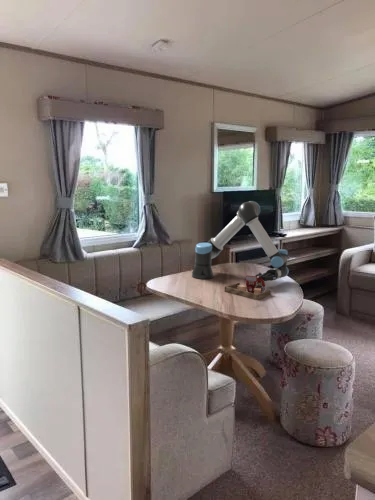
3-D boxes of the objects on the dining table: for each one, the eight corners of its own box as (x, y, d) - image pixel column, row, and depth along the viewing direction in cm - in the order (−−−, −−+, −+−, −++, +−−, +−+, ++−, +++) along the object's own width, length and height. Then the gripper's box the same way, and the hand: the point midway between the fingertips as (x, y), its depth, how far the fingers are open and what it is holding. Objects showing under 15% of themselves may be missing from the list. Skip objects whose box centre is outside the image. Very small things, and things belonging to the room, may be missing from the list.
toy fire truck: (264, 294, 254) (265, 278, 252) (244, 292, 256) (245, 276, 254) (264, 291, 261) (266, 275, 259) (245, 289, 263) (246, 273, 261)
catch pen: (224, 291, 258) (224, 286, 257) (238, 286, 269) (238, 282, 268) (257, 300, 242) (257, 295, 242) (270, 295, 253) (271, 290, 253)
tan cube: (253, 295, 250) (254, 289, 250) (254, 294, 254) (254, 287, 254) (260, 296, 250) (261, 290, 249) (260, 294, 254) (261, 288, 253)
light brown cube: (237, 285, 257) (242, 284, 260) (237, 291, 258) (241, 290, 260) (242, 287, 254) (246, 286, 256) (241, 293, 255) (246, 292, 257)
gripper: (265, 267, 280) (245, 272, 263) (282, 270, 272) (263, 276, 254) (264, 277, 281) (244, 283, 264) (281, 281, 273) (262, 288, 256)
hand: (253, 280), depth 259 cm, fingers closed
